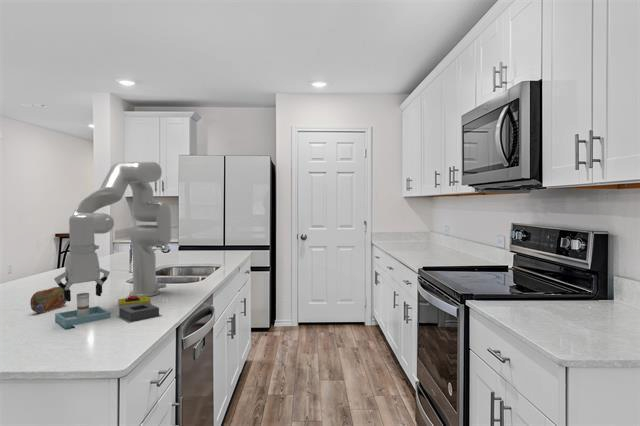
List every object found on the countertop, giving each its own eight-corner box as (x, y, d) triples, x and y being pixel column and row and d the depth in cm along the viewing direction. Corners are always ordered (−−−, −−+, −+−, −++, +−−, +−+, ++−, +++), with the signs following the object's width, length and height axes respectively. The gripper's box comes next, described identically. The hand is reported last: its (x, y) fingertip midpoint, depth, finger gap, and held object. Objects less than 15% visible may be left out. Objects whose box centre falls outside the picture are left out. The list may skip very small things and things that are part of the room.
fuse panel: (148, 312, 156) (148, 301, 156) (162, 318, 148) (162, 307, 147) (115, 318, 147) (115, 307, 147) (128, 325, 139) (128, 314, 139)
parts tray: (98, 314, 153) (98, 306, 153) (110, 320, 145) (110, 312, 145) (55, 321, 143) (55, 313, 143) (65, 329, 135) (65, 320, 135)
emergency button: (114, 296, 165) (153, 292, 172) (114, 307, 165) (153, 302, 173) (115, 301, 157) (156, 296, 164) (115, 312, 157) (156, 307, 164)
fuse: (87, 317, 147) (87, 292, 146) (91, 319, 144) (90, 294, 144) (75, 319, 144) (75, 294, 144) (78, 321, 141) (78, 295, 141)
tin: (35, 315, 151) (35, 292, 151) (28, 315, 152) (28, 292, 151) (68, 305, 166) (68, 284, 166) (61, 305, 166) (61, 284, 166)
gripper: (104, 246, 152) (105, 292, 153) (50, 251, 140) (52, 300, 140) (112, 248, 147) (113, 295, 148) (57, 253, 134) (58, 305, 135)
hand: (83, 298), depth 144 cm, fingers open, 9 cm apart
